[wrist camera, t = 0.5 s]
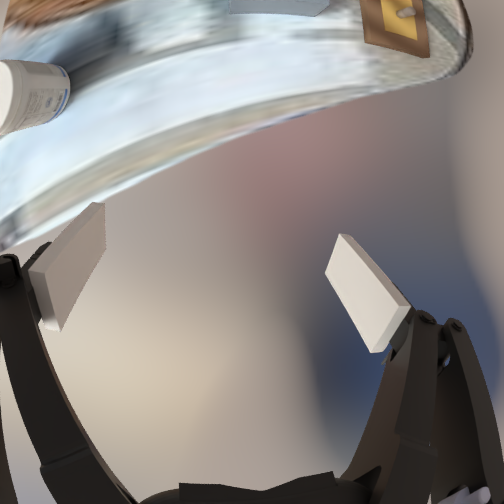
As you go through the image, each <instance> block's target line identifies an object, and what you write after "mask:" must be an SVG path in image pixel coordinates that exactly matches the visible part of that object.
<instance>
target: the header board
mask: <svg viewBox="0 0 504 504" xmlns="http://www.w3.org/2000/svg"><path fill="white" fill-rule="evenodd" d="M360 6H361V13H362V21H363V29H364V39H365V43H368V44H373V45H377V46H381V47H386V48H389V49H393V50H397V51H401V52H404V53H408V54H411V55H414V56H417V57H420V58H430V53H429V43H428V35H427V28H426V21H425V15H424V9H423V4H422V0H360Z"/></svg>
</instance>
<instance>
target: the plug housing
mask: <svg viewBox="0 0 504 504" xmlns="http://www.w3.org/2000/svg"><path fill="white" fill-rule="evenodd" d="M329 5H330V3H329V0H229V14H244V13H265V14H288V15H301V16H311V17H315V16H316V15H317V14H319V13H320V12H321V11H322V10H324V9H325V8H326V7H328V6H329Z"/></svg>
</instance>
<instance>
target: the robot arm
mask: <svg viewBox="0 0 504 504" xmlns="http://www.w3.org/2000/svg"><path fill="white" fill-rule="evenodd" d="M105 240H106V239H105V203H96V202H92V203H91V204H90V205H89V206H88V207H87V208H86V209H84V210H83V211H82V212H81V213H80V214H79V215H78V216H77V217H76V218H75V219H74V220H73V221H72V222H71V223H70V224H69V225H68V226H67V227H66V228H65V229H64V230H63V231H62V233H61V234H60V235H59V236H58V237H57V238H56V239H55V240H54V241H53V242H47V243H46V244H44V245H42V246H40V247H39V248H38V250H37V251H36V252H35V254H33V255H32V256H31V257H30V259H28V261H27V262H26V263H25V264H24V265H23V267H22V268H20V264H19V259H18V257H17V256H16V255H14V254H4V255H1V256H0V348H1V343H2V347H3V353H4V357H5V362H6V366H7V370H8V374H9V378H10V382H11V385H12V388H13V392H14V395H15V399H16V402H17V404H18V408H19V410H20V413H21V416H22V419H23V422H24V424H25V427H26V429H27V432H28V434H29V437H30V439H31V441H32V444H33V446H34V448H35V450H36V453H37V454H38V457H39V459H40V461H41V467H40V472H41V475H42V478H43V480H44V482H45V484H46V485H47V487H48V489H49V491H50V492H51V494H52V496H53V498H54V499H55V501H56V502H57V504H427V502H428V499H429V495H430V494H431V504H504V462H503V456H502V449H501V443H500V438H499V432H498V428H497V423H496V419H495V414H494V410H493V407H492V403H491V399H490V395H489V392H488V389H487V385H486V382H485V379H484V376H483V373H482V370H481V367H480V364H479V361H478V359H477V356H476V353H475V350H474V348H473V345H472V343H471V340H470V338H469V335H468V333H467V331H466V329H465V327H464V325H463V324H462V323H461V322H460V321H459V320H456V319H454V318H449V319H448V320H447V321H446V323H445V324H444V326H443V325H439V324H437V322H436V320H435V319H434V317H433V316H432V315H430V314H429V313H427V312H425V311H423V310H417V311H416V310H415V308H414V307H413V306H412V305H411V303H410V302H409V301H408V300H407V299H406V297H405V296H404V295H403V293H402V292H401V291H400V290H399V289H398V287H397V286H396V285H395V284H394V283H393V282H391V281H390V280H389V278H388V277H387V276H386V275H385V274H384V273H383V271H382V270H381V269H380V268H379V267H378V266H377V265H376V263H375V262H374V261H373V260H372V259H371V258H370V257H369V255H368V254H367V253H366V252H365V251H364V250H363V249H362V248H361V247H360V245H359V244H358V243H357V242H356V241H355V240H354V239H353V238H352V237H351V236H350V235H345V234H339V236H338V239H337V242H336V245H335V248H334V250H333V253H332V256H331V258H330V261H329V264H328V267H327V270H326V272H325V274H326V276H327V278H328V279H329V281H330V282H331V284H332V286H333V287H334V289H335V290H336V293H337V294H338V296H339V298H340V299H341V301H342V303H343V305H344V306H345V308H346V310H347V312H348V313H349V315H350V317H351V318H352V320H353V322H354V324H355V325H356V327H357V329H358V331H359V333H360V334H361V336H362V338H363V340H364V341H365V343H366V345H367V347H368V349H369V351H370V353H373V352H383V351H384V349H385V348H386V346H387V345H388V343H389V342H390V344H391V345H392V347H393V348H392V349H391V350H390V352H389V353H388V355H387V356H386V358H385V359H384V360H383V362H382V365H383V364H384V363H385V362H386V365H385V369H384V373H383V377H382V380H381V383H380V387H379V390H378V393H377V396H376V399H375V402H374V405H373V408H372V411H371V414H370V417H369V419H368V422H367V425H366V427H365V430H364V433H363V435H362V438H361V441H360V443H359V445H358V448H357V450H356V452H355V455H354V457H353V459H352V462H351V464H350V465H349V467H348V469H347V470H346V471H345V472H344V473H343V474H342V476H341V477H340V478H335V477H334V474H333V471H330V472H326V473H321V474H316V475H311V476H306V477H300V478H297V479H295V480H292V481H290V482H287V483H284V484H282V485H279V486H276V487H274V488H271V489H268V490H265V491H257V490H250V489H243V488H237V487H232V486H226V485H221V484H189V483H179V489H173V490H168V491H164V492H161V493H158V494H155V495H153V496H151V497H149V498H147V499H145V500H143V501H142V502H140V503H138V502H137V501H136V500H135V499H134V498H133V497H132V495H131V494H130V493H129V492H128V490H127V489H126V488H125V487H124V486H123V484H122V483H121V482H120V481H119V480H118V478H117V477H116V476H115V475H114V473H113V472H112V471H111V469H110V468H109V466H108V465H107V464H106V462H105V461H104V459H103V458H102V457H101V455H100V453H99V452H98V450H97V449H96V447H95V446H94V444H93V443H92V441H91V439H90V438H89V436H88V434H87V433H86V431H85V429H84V428H83V426H82V424H81V422H80V421H79V419H78V417H77V415H76V413H75V411H74V409H73V408H72V406H71V404H70V402H69V400H68V398H67V396H66V394H65V391H64V389H63V387H62V385H61V383H60V381H59V379H58V376H57V374H56V372H55V369H54V367H53V364H52V362H51V359H50V357H49V354H48V352H47V349H46V347H45V343H44V341H43V338H42V335H41V332H40V329H39V326H38V323H39V321H40V319H41V318H42V320H43V323H44V326H45V328H47V329H50V330H55V331H59V332H61V330H62V328H63V326H64V324H65V322H66V320H67V318H68V316H69V314H70V312H71V310H72V308H73V306H74V304H75V302H76V300H77V298H78V297H79V295H80V293H81V291H82V289H83V287H84V286H85V284H86V282H87V280H88V279H89V277H90V275H91V273H92V272H93V270H94V268H95V266H96V265H97V263H98V262H99V260H100V258H101V257H102V255H103V253H104V252H105V250H106V241H105ZM449 356H450V361H449V364H448V365H447V366H445V362H446V360H447V359H448V358H449ZM429 442H430V446H429ZM0 504H18V501H17V497H16V493H15V490H14V486H13V482H12V478H11V474H10V470H9V465H8V460H7V455H6V450H5V443H4V436H3V429H2V419H1V407H0Z"/></svg>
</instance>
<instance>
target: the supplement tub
mask: <svg viewBox="0 0 504 504" xmlns="http://www.w3.org/2000/svg"><path fill="white" fill-rule="evenodd" d="M69 94H70V79H69V76H68V74H67V73H66V71H65V70H64V69H63V68H62V67H60V66H58V65H54V64H48V63H40V62H32V61H21V60H0V136H1V135H4V134H8V133H11V132H14V131H18V130H22V129H25V128H29V127H33V126H37V125H41V124H45V123H48V122H50V121H52V120H54V119H55V118H56V117H57V116H58V115H59V114H60V113H61V112H62V110H63V109H64V107H65V106H66V104H67V101H68V98H69Z"/></svg>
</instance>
